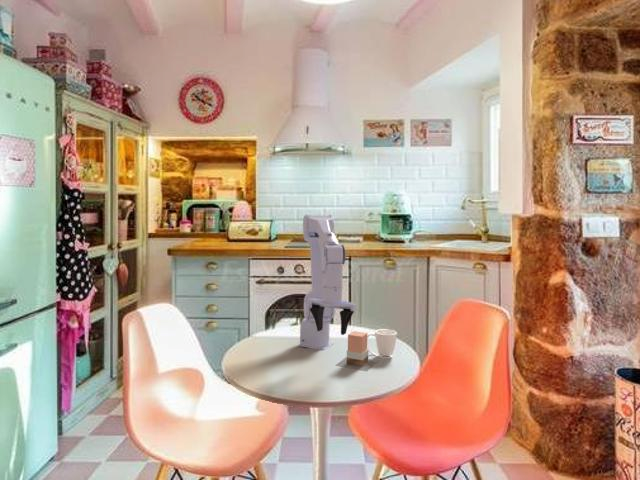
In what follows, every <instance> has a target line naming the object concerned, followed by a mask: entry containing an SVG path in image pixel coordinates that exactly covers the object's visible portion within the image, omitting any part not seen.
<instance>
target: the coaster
mask: <svg viewBox="0 0 640 480" xmlns="http://www.w3.org/2000/svg"><path fill="white" fill-rule="evenodd" d="M378 362H379V360H377V359H373V358H372V359H370V358H368V362H367V363H366V364H365V365H364V366H363V367H360V366H354V365H349V364H346V363H347V356H346V357H344V358H343V359H342V360H340V361H339V362H338V363H336V364H335V366H338V367H342V368H347V369H354V370H358V371H363V372H368V371H369V370H371V368H373V367H374V366H375V365H376V364H377V363H378Z"/></svg>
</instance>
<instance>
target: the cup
mask: <svg viewBox="0 0 640 480" xmlns="http://www.w3.org/2000/svg"><path fill="white" fill-rule="evenodd" d="M370 336H372V337H375V343H376V344H375V345H376V350H377V353H378V354H376V353H375V352H373V350H371V349H370V348H369V347H368V346H367V349H368V353H369V352H370V353H371V354H372V355H373V356H377V357H379V358H380V359H381V358H382V359H391V358H393V353H394V351H395V348H396V347H395V346H396V341H397V336H398V332H397V331H396V330H395V329H393V330H392V329H388V328H379V329H377V330H374V333H369V334H367V339H368V338H369V337H370Z"/></svg>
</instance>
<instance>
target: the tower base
mask: <svg viewBox="0 0 640 480" xmlns="http://www.w3.org/2000/svg"><path fill="white" fill-rule="evenodd" d="M368 359H369V355H368V356H367V357H366V358H365V359H363V360H358V359H352V358H347V363H346V364H349V365H354V366H360V367H363V366H364V365H365V364H366V363H367V362H368Z"/></svg>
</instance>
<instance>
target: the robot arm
mask: <svg viewBox="0 0 640 480" xmlns="http://www.w3.org/2000/svg"><path fill="white" fill-rule="evenodd" d="M302 220H303V221H302V230H303V231H302V232H303V239H304V241H305V242H307V243H308V244H309V245H308V246H309V250H310V251H309V253H310V275H311V276H310V277H311V291H309V292H308V293H307V294H306V295H305V296H304V297H303V316H304V318H303V319H302V320H301V322H300V327H299V328H300V330H299V335H300V336H299V344H298V346H299V347H303V348H309V349H315V350H319V351H325V350H327V349H329V348H330V347H331V346H333V345H334V344H335V343H334V342H332V341H330V327H331V325H330V324H331V321H332V319H333V318H334V317H335V314H336V309H339V310H340V311H339V316H340V335H342V336H344V335H345V334H347V330H348V326H349V324H350V321H351V318H352V316H353V315H354V313H355V312H356V311H357V303H355V302H351V301H345V300H343V279H344V278H343V276H344V275H343V274H344V272H343V271H344V265H345V263H346V255H347V254H346V248H345V245H344V244H340V242H339V241H338V238H337V236H336V235H335V233H333V232H334V229H335V219H334V216H333V215H332V214H328V215H325V214H322V215H320V214H319V215H318V214H317V215H316V214H305V215H304V216H303V218H302Z"/></svg>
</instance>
